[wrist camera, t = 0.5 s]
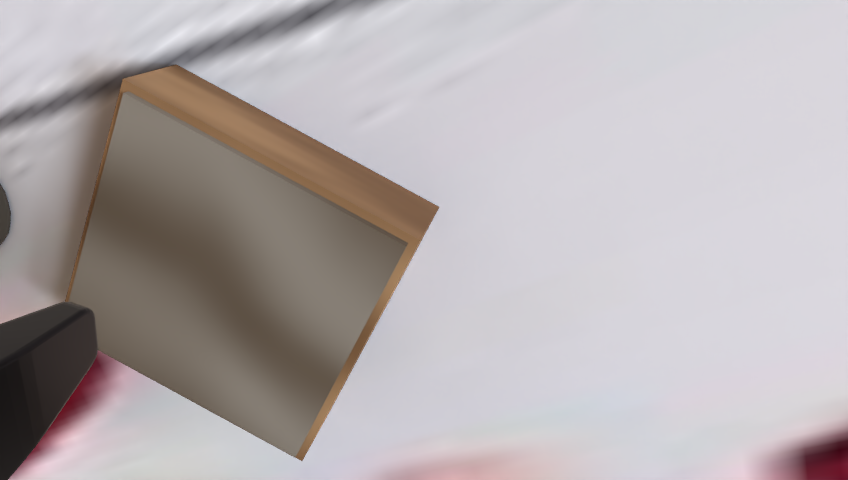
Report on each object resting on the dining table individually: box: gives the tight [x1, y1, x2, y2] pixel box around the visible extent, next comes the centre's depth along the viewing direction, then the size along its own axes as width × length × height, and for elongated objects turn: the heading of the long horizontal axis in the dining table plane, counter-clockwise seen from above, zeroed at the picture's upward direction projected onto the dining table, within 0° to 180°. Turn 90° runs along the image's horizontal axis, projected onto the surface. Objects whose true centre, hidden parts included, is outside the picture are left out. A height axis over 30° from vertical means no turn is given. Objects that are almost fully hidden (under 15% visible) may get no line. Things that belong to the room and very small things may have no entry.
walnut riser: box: [65, 65, 439, 461], centre depth 26 cm, size 11×11×4 cm
